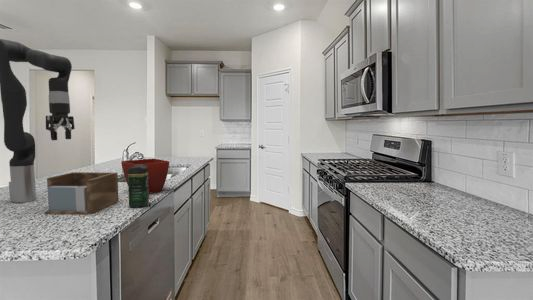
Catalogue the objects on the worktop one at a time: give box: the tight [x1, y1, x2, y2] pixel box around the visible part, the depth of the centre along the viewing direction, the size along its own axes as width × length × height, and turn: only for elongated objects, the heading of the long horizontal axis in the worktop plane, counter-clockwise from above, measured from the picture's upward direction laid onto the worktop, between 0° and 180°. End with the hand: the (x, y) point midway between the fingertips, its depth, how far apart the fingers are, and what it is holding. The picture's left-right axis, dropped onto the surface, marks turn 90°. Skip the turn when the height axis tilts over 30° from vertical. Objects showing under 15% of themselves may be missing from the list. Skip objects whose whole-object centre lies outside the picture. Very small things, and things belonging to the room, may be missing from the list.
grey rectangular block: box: [47, 186, 88, 212], centre depth 129 cm, size 16×4×10 cm, turn 87°
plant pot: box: [121, 158, 170, 194], centre depth 168 cm, size 19×19×17 cm
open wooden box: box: [43, 171, 119, 215], centre depth 136 cm, size 22×21×14 cm
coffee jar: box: [128, 165, 150, 209], centre depth 139 cm, size 10×8×19 cm
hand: (61, 139), depth 135 cm, fingers open, 8 cm apart
